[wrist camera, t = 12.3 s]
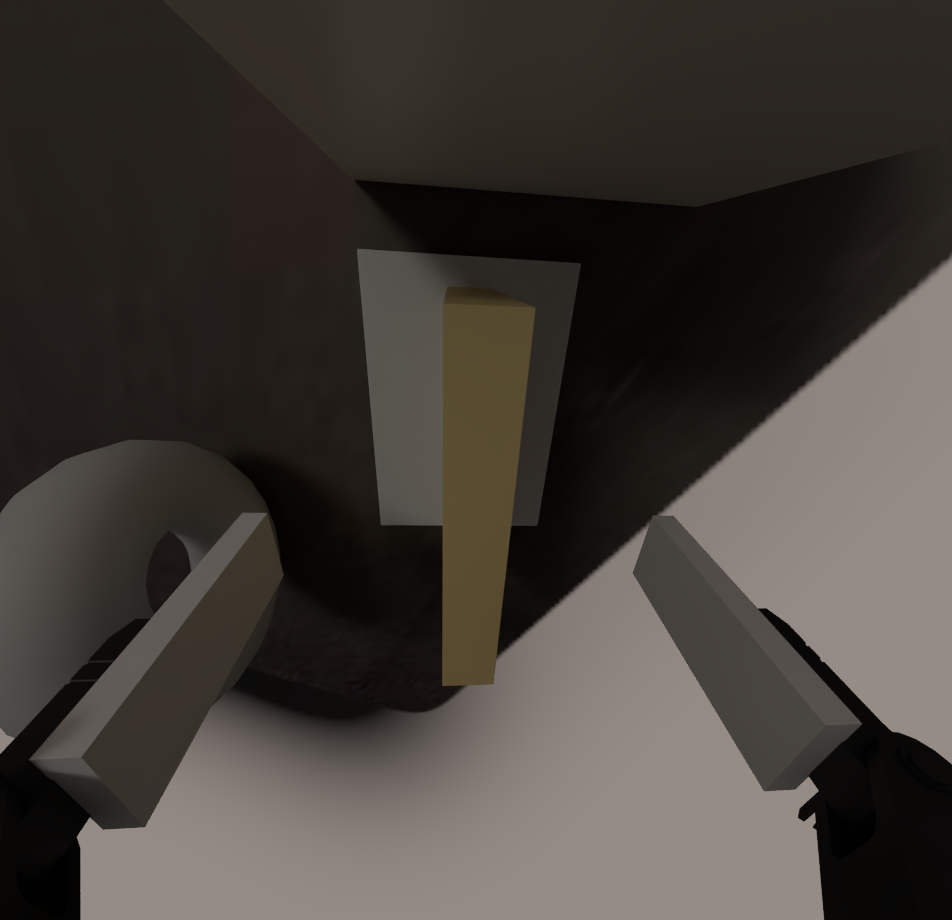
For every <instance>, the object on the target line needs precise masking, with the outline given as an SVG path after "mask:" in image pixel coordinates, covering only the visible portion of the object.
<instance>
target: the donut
mask: <svg viewBox="0 0 952 920" xmlns="http://www.w3.org/2000/svg"><path fill="white" fill-rule="evenodd" d="M242 513H267V514H268V518H269V522H270V525H271V529H272V533H273V537H274V540H275V544H276V548H277V552H278V556H279V559H280V551H279V545H278V539H277V533H276V527H275V525H274V522H273V519H272V517H271V514H270V512H269V509H268V506H267V504H266V502H265V500H264V499H263V497H262V496H261V494H260V493H259V492H258V490H257V489H256V487H255V486H254V484H253V483H252V481H251V480H250V479H249V478H248V477H247V476H246V475H245V474H243V473H242V472H241V471H240V470H239V469H237V468H236V467H235V466H234V465H232V464H231V463H230V462H229V461H228V460H226V459H225V458H224V457H222V456H220V455H217V454H214V453H212V452H209V451H207V450H204V449H202V448H199V447H196V446H194V445H191V444H188V443H185V442H182V441H155V440H126V441H123V442H120V443H116V444H113V445H110V446H107V447H103V448H100V449H97V450H93V451H90V452H87V453H84V454H80V455H77V456H74V457H71V458H68V459H66V460H64V461H63V462H61V463H60V464H58V465H57V466H55V467H54V468H53V469H51V470H50V471H48V472H47V473H45V474H44V475H43V476H41V477H40V478H38V479H37V480H36V481H34V482H33V483H31V484H30V485H28V486H27V487H26V488H24V489H23V490H21V491H20V492H18V493H17V494H16V495H15V496H14V497H13V498H12V499H11V500H10V501H9V502H8V503H7V505H6V506H5V508H4V509H3V510H2V512H1V513H0V727H1V728H2V730H3V731H4V732H5V733H6V735H9V736H11V737H14V738H16V737H17V736H18V735H19V734H20V733H21V731H22V730H23V729H24V728H25V727H26V726H27V725H28V724H29V723H30V722H31V721H32V720H33V719H34V718H35V717H36V715H37V714H38V713H39V712H40V711H41V710H42V709H43V708H44V707H45V706H46V705H47V704H48V703H49V702H50V700H51V699H52V698H53V697H54V696H55V695H56V694H57V693H58V692H59V691H60V690H61V689H62V688H63V687H64V685H65V684H69V683H70V681H71V680H70V679H71V678H72V677H73V676H74V675H75V674H76V673H77V672H78V670H79V669H80V668H81V667H82V666H83V665H86V664H87V663H88V660H89V659H90V658H91V657H92V655H93V654H94V653H95V652H96V651H97V650H98V649H99V648H100V647H101V646H102V645H103V644H104V643H105V642H106V640H107V639H108V638H109V637H111V636H112V635H114V634H115V633H116V632H118V631H119V630H121V629H122V628H123V627H125V626H126V625H128V624H129V623H130V622H132V621H133V620H135V619H151V618H152V617H153V616H154V615H155V614H154V613H153V611H152V609H151V607H150V605H149V602H148V596H147V590H146V585H145V584H146V576H147V569H148V563H149V560H150V558H151V556H152V553H153V551H154V549H155V546H156V544H157V543H158V542H159V540H160V539H161V538H162V537H163V536H164V534H165V533H166V532H168V531H171V532H173V533H174V534H175V535H176V536H177V537H178V538H179V539H180V540H181V541H182V542H183V543H184V545H185V547H186V549H187V551H188V553H189V559H190V565H191V572H192V571H193V570H194V568H195V567H196V566H197V565H198V564H199V563H200V561H201V560H202V559H203V558H204V557H205V556H206V554H207V553H208V552H209V551H210V550H211V549H212V548H213V546H214V545H215V544H216V543H217V542H218V541H219V539H220V538H221V537H222V536H223V535H224V534H225V533H226V531H227V530H228V529H229V528H230V527H231V526H232V524H233V523H234V522H235V521H236V520H237V519H238V517H239V516H240V515H241V514H242ZM278 589H279V585H278V586H277V588H276V590H275V592H274V594H273V595H272V597H271V599H270V601H269V603H268V605H267V606H266V608H265V610H264V612H263V614H262V615H261V617H260V619H259V621H258V623H257V625H256V626H255V628H254V630H253V632H252V634H251V635H250V637H249V639H248V641H247V643H246V644H245V646H244V648H243V650H242V652H241V654H240V655H239V657H238V659H237V661H236V663H235V664H234V666H233V668H232V670H231V672H230V673H229V675H228V677H227V679H226V681H225V683H224V684H223V686H222V688H221V690H220V692H219V693H218V695H217V697H216V699H215V701H214V702H213V704H214V703H215V702H216V701H217V700H219V699H220V698H221V697H222V696H223V695H224V694H225V693H226V692H227V691H228V690H229V689H230V688H231V687H233V686H234V685H235V683H236V682H237V680H238V679H239V678H240V676H241V675H242V673H243V672H244V670H245V669H246V667H247V666H248V664H249V663H250V661H251V660H252V658H253V657H254V655H255V654H256V652H257V651H258V649H259V648H260V646H261V644H262V642H263V639H264V637H265V634H266V632H267V629H268V627H269V624H270V622H271V620H272V617H273V614H274V609H275V604H276V599H277V594H278ZM213 704H212V705H213Z"/></svg>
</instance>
